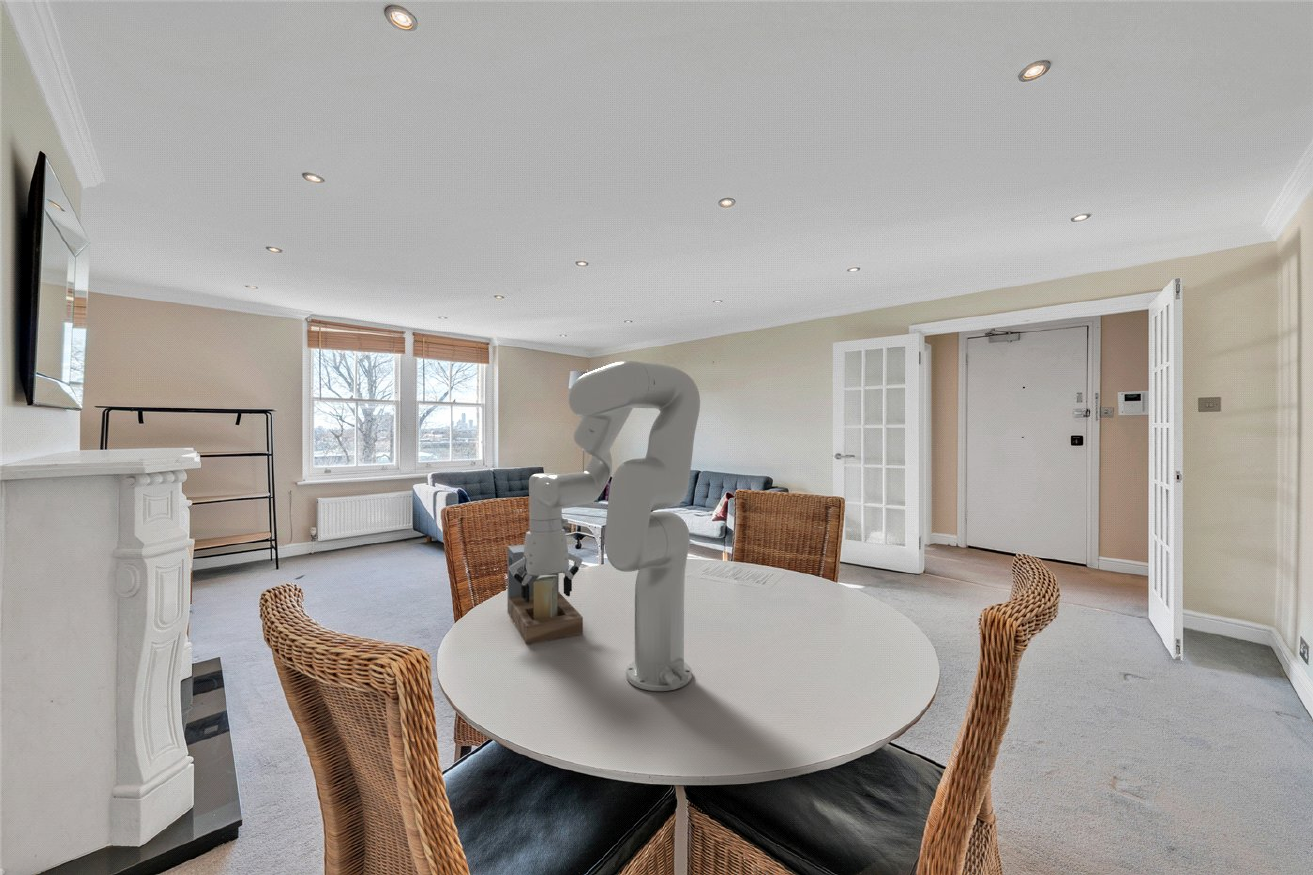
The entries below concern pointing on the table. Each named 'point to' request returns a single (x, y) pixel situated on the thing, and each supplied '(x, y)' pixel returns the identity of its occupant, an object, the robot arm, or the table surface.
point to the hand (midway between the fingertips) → (547, 597)
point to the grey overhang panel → (512, 584)
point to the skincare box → (545, 596)
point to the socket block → (545, 620)
